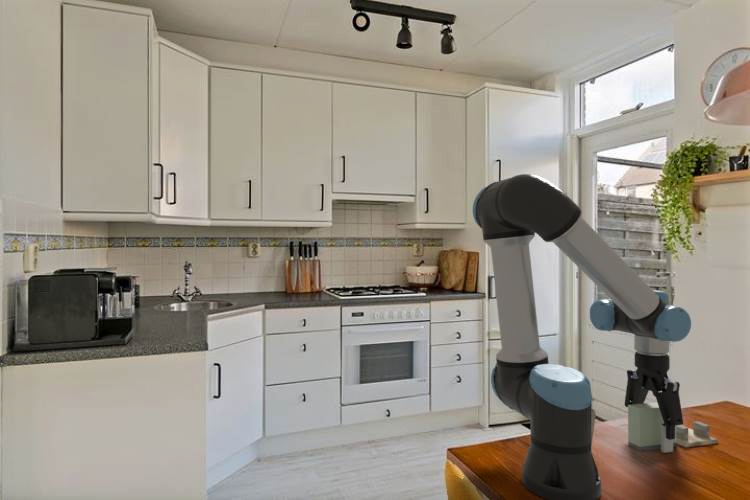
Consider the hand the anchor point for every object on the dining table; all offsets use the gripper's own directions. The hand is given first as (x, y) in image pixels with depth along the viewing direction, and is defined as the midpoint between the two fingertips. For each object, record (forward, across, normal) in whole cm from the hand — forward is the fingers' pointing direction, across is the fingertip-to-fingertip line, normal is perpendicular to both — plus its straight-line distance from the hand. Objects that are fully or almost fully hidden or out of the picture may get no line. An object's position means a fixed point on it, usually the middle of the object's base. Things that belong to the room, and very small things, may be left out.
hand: (652, 444), depth 118 cm
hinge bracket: (0, +5, -12) cm, 13 cm away
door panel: (0, 0, 0) cm, 0 cm away
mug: (0, 0, +21) cm, 21 cm away
